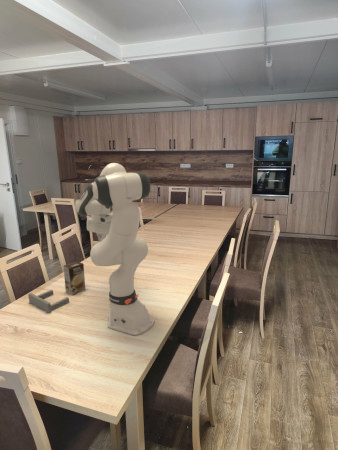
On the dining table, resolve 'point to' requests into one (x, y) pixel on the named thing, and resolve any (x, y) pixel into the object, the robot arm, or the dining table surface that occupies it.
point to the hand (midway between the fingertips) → (101, 241)
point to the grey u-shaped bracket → (45, 305)
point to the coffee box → (74, 278)
